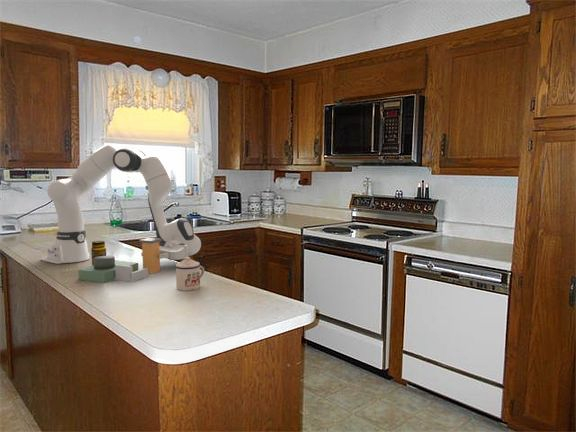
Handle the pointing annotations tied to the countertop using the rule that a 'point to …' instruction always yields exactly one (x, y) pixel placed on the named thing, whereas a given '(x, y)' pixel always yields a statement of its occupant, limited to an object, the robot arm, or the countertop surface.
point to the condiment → (98, 249)
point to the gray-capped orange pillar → (151, 254)
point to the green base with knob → (112, 270)
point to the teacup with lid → (188, 274)
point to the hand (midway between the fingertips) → (150, 255)
